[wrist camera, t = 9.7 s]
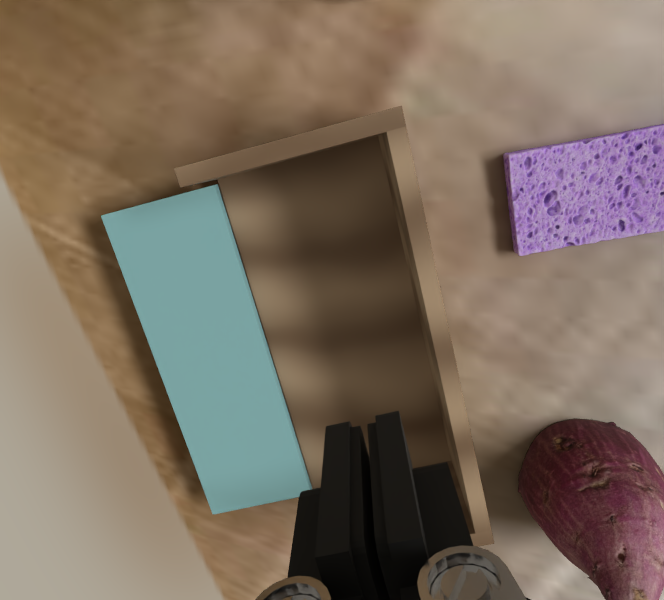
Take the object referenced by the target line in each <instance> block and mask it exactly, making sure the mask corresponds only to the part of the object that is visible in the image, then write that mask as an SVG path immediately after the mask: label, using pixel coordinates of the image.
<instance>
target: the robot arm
mask: <svg viewBox="0 0 664 600" xmlns="http://www.w3.org/2000/svg"><path fill="white" fill-rule="evenodd" d="M375 420H376V422H374V423H370V424H367V428H368V444H369V454H368V451H367V447H366V443H365V439H364V436H363V432H362V429H361V426H355V427H352V425H351V422H350V421H348V422H343V423H339V424H334V425H329V426H326V429H325V441H324V453H323V465H322V477H321V487H320V488H316V489H311V490H306V491H302V492H301V493H300V496H299V501H298V508H297V515H296V522H295V529H294V536H293V543H292V550H291V557H290V564H289V571H288V578H285V579H283V580H281V581H278V582H276V583H274V584H272V585H271V586H270V587H268V588H267V589H265V590H264V591H263V592H262V593H261V594H260V595H259V596H258V597H257V598H256V599H255V600H530V599H528V598H526V597H525V596H524V594H523V593H522V591H521V589H520V588H519V586H518V584H517V582H516V581H515V579H514V577H513V576H512V574H511V572H510V571H509V569H508V567H507V566H506V565H505V564H504V562H503V561H502V560H501V559H500V558H499V557H498V556H496V555H495V554H493V553H492V552H490V551H488V550H486V549H482V548H479V547H476V546H473V542H472V539H471V536H470V533H469V530H468V527H467V523H466V520H465V517H464V514H463V511H462V507H461V504H460V501H459V498H458V495H457V491H456V488H455V485H454V482H453V479H452V475H451V472H450V469H449V466H448V463H447V462H444V463H439V464H434V465H429V466H424V467H419V468H414V469H413V466H412V462H411V458H410V453H409V449H408V445H407V441H406V437H405V433H404V429H403V425H402V421H401V417H400V413H399V411H395V412H390V413H385V414H381V415H376V416H375Z"/></svg>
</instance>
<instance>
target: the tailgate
mask: <svg viewBox="0 0 664 600" xmlns="http://www.w3.org/2000/svg"><path fill="white" fill-rule="evenodd" d="M101 218H102V220H103V223H104V226H105V228H106V231H107V234H108V236H109V239H110V242H111V244H112V247H113V250H114V252H115V255H116V258H117V260H118V263H119V266H120V268H121V271H122V274H123V276H124V279H125V282H126V284H127V287H128V290H129V292H130V295H131V298H132V300H133V303H134V306H135V308H136V311H137V314H138V316H139V319H140V322H141V324H142V327H143V330H144V332H145V335H146V338H147V340H148V343H149V346H150V348H151V351H152V354H153V356H154V359H155V362H156V364H157V367H158V370H159V372H160V375H161V378H162V380H163V383H164V386H165V388H166V391H167V394H168V396H169V399H170V402H171V404H172V407H173V410H174V412H175V415H176V417H177V420H178V423H179V425H180V428H181V431H182V433H183V436H184V439H185V441H186V444H187V447H188V449H189V452H190V455H191V457H192V460H193V463H194V465H195V468H196V471H197V473H198V476H199V479H200V481H201V484H202V487H203V489H204V492H205V495H206V497H207V500H208V503H209V505H210V508H211V511H212V513H213V514H218V513H223V512H228V511H232V510H237V509H242V508H247V507H252V506H257V505H262V504H267V503H272V502H277V501H281V500H286V499H291V498H296V497H299V496H300V493H301V492H302V491H306V490H311V489H312V486H311V483H310V480H309V476H308V473H307V470H306V467H305V464H304V460H303V457H302V454H301V451H300V447H299V444H298V441H297V438H296V435H295V431H294V428H293V425H292V422H291V419H290V415H289V412H288V409H287V406H286V402H285V399H284V396H283V393H282V390H281V386H280V383H279V380H278V377H277V374H276V370H275V367H274V364H273V361H272V357H271V354H270V351H269V348H268V345H267V341H266V338H265V335H264V332H263V329H262V325H261V322H260V319H259V316H258V312H257V309H256V306H255V303H254V300H253V296H252V293H251V290H250V287H249V284H248V280H247V277H246V274H245V271H244V268H243V264H242V261H241V258H240V255H239V251H238V248H237V245H236V242H235V239H234V235H233V232H232V229H231V226H230V223H229V219H228V216H227V213H226V210H225V206H224V203H223V200H222V197H221V194H220V190H219V187H218V184H216V185H212V186H209V187H205V188H201V189H198V190H194V191H190V192H186V193H183V194H179V195H175V196H172V197H168V198H164V199H161V200H157V201H153V202H149V203H146V204H142V205H138V206H135V207H131V208H127V209H124V210H120V211H116V212H112V213H109V214H105V215H101Z"/></svg>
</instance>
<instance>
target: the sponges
mask: <svg viewBox="0 0 664 600" xmlns="http://www.w3.org/2000/svg"><path fill="white" fill-rule="evenodd" d="M503 159H504V168H505V176H506V178H505V180H506V183H507V196H508V203H509V216H510V222H511V230H512V239H513V248H514V252H515V253H517V254H518V255H519V256H523V255H528V254H531V253H537V252H544V251H549V250H553V249H556V248H563V247H566V246H571V245H582V244H589V243H596V242H598V241H605V240H611V239H618V238H624V237H629V236H636V235H640V234H645V233H653V232H658V231H664V124H662V125H656V126H650V127H645V128H640V129H635V130H630V131H624V132H621V133H613V134H609V135H603V136H598V137H592V138H587V139H582V140H577V141H570V142H566V143H560V144H553V145H547V146H542V147H537V148H530V149H524V150H519V151H514V152H510V153H504V154H503Z"/></svg>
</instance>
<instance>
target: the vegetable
mask: <svg viewBox="0 0 664 600" xmlns="http://www.w3.org/2000/svg"><path fill="white" fill-rule="evenodd" d="M518 492H519V493H521V496H522V498H523V500H524V502H525V504H526V506H527V508H528V510H529V512H530V514H531V516H532V517H533V518H534V519H535V521H536V522H537V523H538V524H539V526H540V527H541V528H542V529H543V531H544V532H545V533H546V535H547V536H548V537H549V539H550V540H551V541H552V543H553V544H554V545H555V546H556V547H557V548H558V550H559V551H560V552H561V553H562V554H563V555H564V556H565V557H566V558H567V559H568V560H569V561H570V562H572V563H573V564H574V565H575V566H577V567H578V568H579V569H581V570H582V571H583V572H585V573H586V574H587V575H589V576H590V577H587V578H590V579H591V580H592V581H593V582H594V583H595V584H596V585H597V586H598V587H599V589H600V591H601V593H602V595H603V596H604V598H605V599H606V600H659V598H660V595H661V593H662V590H663V587H664V474H663V472H662V471H661V469H660V467H659V466H658V465H657V463H656V462H655V461H654V459H653V458H652V456H651V455H650V454H649V452H648V451H647V450H646V448H645V447H644V446H643V445H642V444H641V443H640V442H639V441H638V440H637V439H636V438H635V437H634V436H633V435H632V434H631V433H630V432H627V431H625V430H623V429H621V428H620V427H617V426H616V424H615V423H614V422H611V423H605V422H600V421H594V420H587V419H571V420H566V421H562V422H558V423H555V424H553V425H551V426H549V427H547V428H545V429H544V430H543V431H542V432H540V433H539V435H538V436H537V437H536V438H535V440H534V441H533V442H532V444H531V446H530V447H529V449H528V452H527V454H526V456H525V460H524V462H523V465H522V468H521V470H520V474H519V488H518Z"/></svg>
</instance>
